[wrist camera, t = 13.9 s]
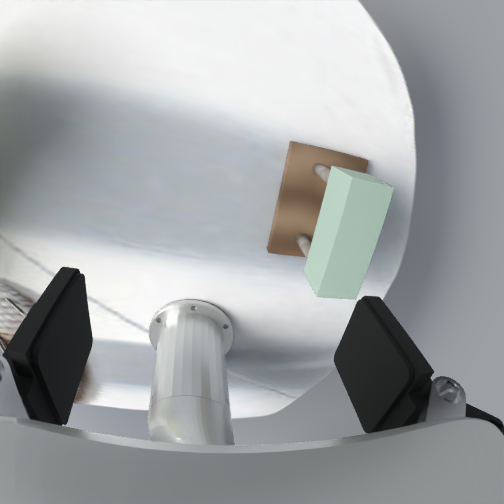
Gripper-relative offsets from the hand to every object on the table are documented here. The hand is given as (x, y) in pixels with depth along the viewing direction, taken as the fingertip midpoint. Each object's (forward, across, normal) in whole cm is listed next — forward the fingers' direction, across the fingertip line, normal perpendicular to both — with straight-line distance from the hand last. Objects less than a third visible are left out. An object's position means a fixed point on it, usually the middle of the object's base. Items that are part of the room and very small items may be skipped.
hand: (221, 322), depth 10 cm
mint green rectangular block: (+21, -14, +3) cm, 25 cm away
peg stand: (+28, -14, +3) cm, 31 cm away
